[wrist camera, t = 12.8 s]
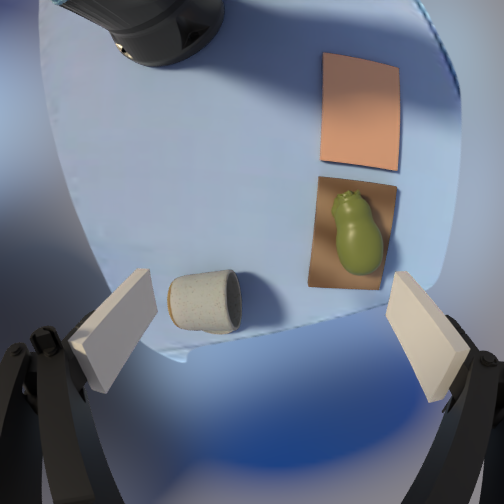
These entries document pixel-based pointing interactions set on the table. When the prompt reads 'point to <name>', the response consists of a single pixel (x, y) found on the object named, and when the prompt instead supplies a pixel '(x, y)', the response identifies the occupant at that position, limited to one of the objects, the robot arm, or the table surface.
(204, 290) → the ceramic mug
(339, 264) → the walnut board
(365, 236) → the green oblong lump
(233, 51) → the table surface
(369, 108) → the terracotta tile
